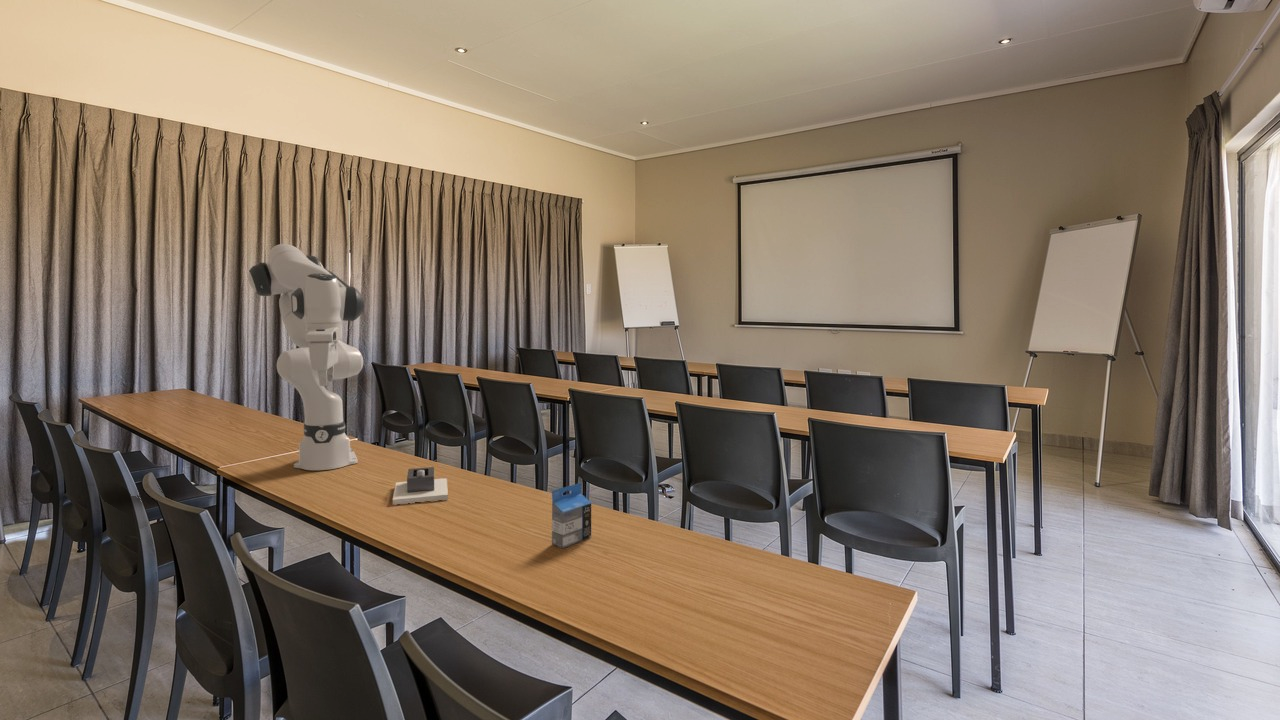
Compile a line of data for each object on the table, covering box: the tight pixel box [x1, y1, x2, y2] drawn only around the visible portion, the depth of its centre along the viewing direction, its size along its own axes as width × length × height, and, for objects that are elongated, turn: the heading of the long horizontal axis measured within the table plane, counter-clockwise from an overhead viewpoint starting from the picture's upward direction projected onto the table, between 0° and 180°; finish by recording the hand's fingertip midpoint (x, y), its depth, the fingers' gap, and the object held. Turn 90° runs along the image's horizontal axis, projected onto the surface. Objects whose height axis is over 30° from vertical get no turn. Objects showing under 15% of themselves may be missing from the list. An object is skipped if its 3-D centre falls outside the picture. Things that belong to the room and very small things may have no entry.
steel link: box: [406, 466, 435, 493], centre depth 171 cm, size 10×7×4 cm
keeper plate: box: [392, 470, 449, 506], centre depth 170 cm, size 16×14×6 cm
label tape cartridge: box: [551, 482, 592, 549], centre depth 137 cm, size 9×4×12 cm, turn 138°
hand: (326, 383), depth 167 cm, fingers open, 8 cm apart
